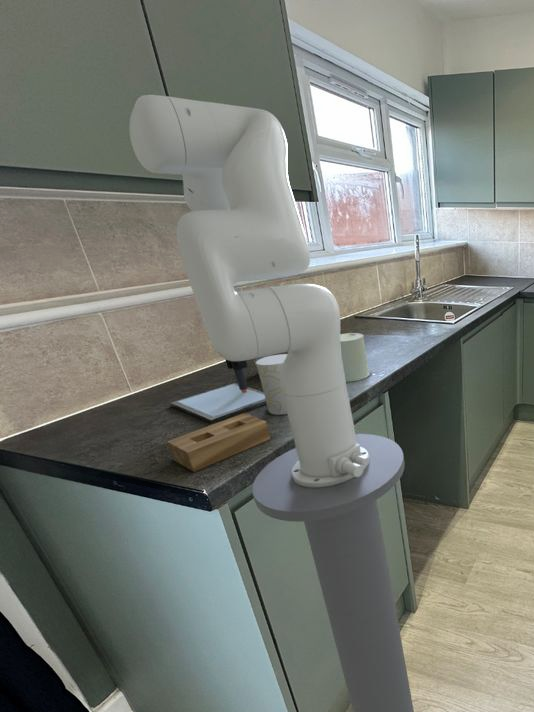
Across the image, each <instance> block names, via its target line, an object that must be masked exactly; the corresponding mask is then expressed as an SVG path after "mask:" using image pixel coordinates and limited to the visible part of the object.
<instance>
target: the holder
mask: <svg viewBox="0 0 534 712" xmlns="http://www.w3.org/2000/svg"><path fill="white" fill-rule="evenodd" d="M269 440H271V435H270V430H269V427H268V423H267V421H266V420H263V419H261V418H259V417H256V416H253V415H251V414H248V413H246V412H242V413H239V414H237V415H234V416H231V417H229V418H226V419H223V420H220V421H218V422H215V423H212V424H211V425H208V426H205V427H203V428H199V429H197V430H194V431H191V432H189V433H188V432H187V433H186V434H183V435H180V436H177V437H175V438H172V439H170V440H167V441H166V443H167V446H168V448H169V451H170V454H171V457H172V460H173V461H175V462H176V463H177V464H179V465H182V466H183V467H185V468H186V469H188V470H190V471H192V472H193V473H196V472H198V471H201V470H203V469H205V468H207V467H210V466H212V465H214V464H216V463H218V462H221V461H223V460H225V459H227V458H231V457H232V456H235V455H237V454H239V453H242V452H244V451H246V450H249V449H251V448H253V447H255V446H257V445H260V444H262V443H264V442H267V441H269Z"/></svg>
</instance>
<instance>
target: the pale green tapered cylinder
mask: <svg viewBox="0 0 534 712" xmlns="http://www.w3.org/2000/svg"><path fill="white" fill-rule="evenodd" d="M364 337H365V336H364V334H363V333H360V332H347V333H340V344H341V355H342V362H343V369H344V374H345V380H346V383H351V382H358V381H361V380H365V379H366V378H368V377H369V376H370V375H371V373H370V369H369V364H368V363H369V362H368V358H367V351H366V345H365V338H364Z"/></svg>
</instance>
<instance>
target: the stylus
mask: <svg viewBox="0 0 534 712" xmlns="http://www.w3.org/2000/svg"><path fill="white" fill-rule="evenodd" d="M233 372H234V375H235V378H236V383H237V384H238V385H239V389H240V390H241V391H242V392H243V393H244V392H247V388H248V383H247V379H246V376H245V373H244V368H243V369H239V370H233Z"/></svg>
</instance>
